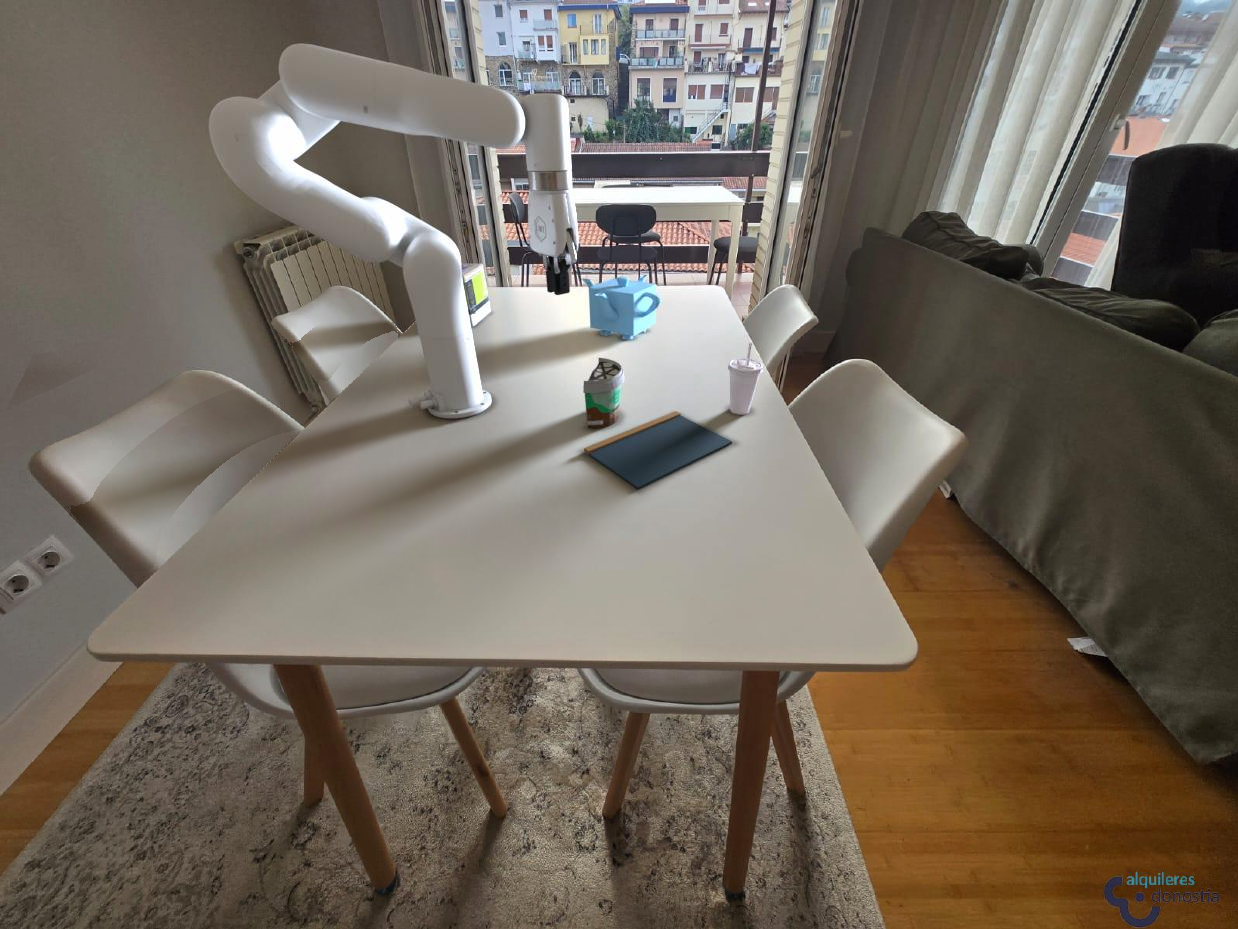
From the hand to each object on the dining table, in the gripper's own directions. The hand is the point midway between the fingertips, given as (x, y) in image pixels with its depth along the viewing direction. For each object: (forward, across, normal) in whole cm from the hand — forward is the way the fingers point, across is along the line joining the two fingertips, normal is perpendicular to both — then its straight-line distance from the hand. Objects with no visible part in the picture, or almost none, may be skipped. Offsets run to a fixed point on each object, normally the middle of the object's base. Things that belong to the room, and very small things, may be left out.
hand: (558, 291), depth 97 cm
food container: (+21, +15, 0) cm, 26 cm away
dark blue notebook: (+21, +30, 0) cm, 37 cm away
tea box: (+21, -63, +6) cm, 67 cm away
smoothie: (+21, +29, +22) cm, 42 cm away
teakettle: (+21, -24, +34) cm, 47 cm away
